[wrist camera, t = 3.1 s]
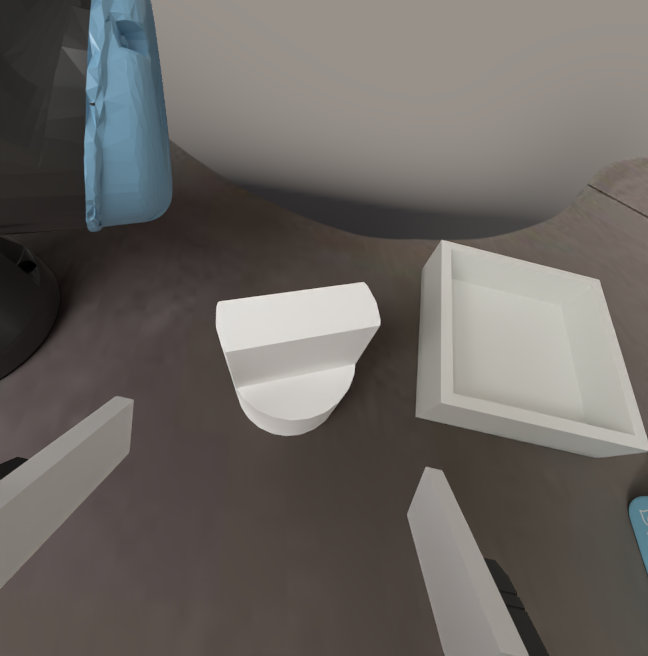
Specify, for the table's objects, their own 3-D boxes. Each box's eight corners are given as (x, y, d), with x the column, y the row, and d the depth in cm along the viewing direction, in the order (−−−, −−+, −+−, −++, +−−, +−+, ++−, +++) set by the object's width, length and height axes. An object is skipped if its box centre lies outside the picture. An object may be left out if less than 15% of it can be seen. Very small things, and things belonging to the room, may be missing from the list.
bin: (415, 416, 28) (440, 402, 24) (421, 269, 36) (441, 239, 32) (595, 458, 29) (651, 451, 25) (562, 304, 37) (599, 279, 33)
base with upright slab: (325, 329, 31) (353, 243, 20) (352, 421, 27) (404, 374, 17) (229, 345, 29) (206, 258, 18) (245, 448, 25) (227, 413, 14)
